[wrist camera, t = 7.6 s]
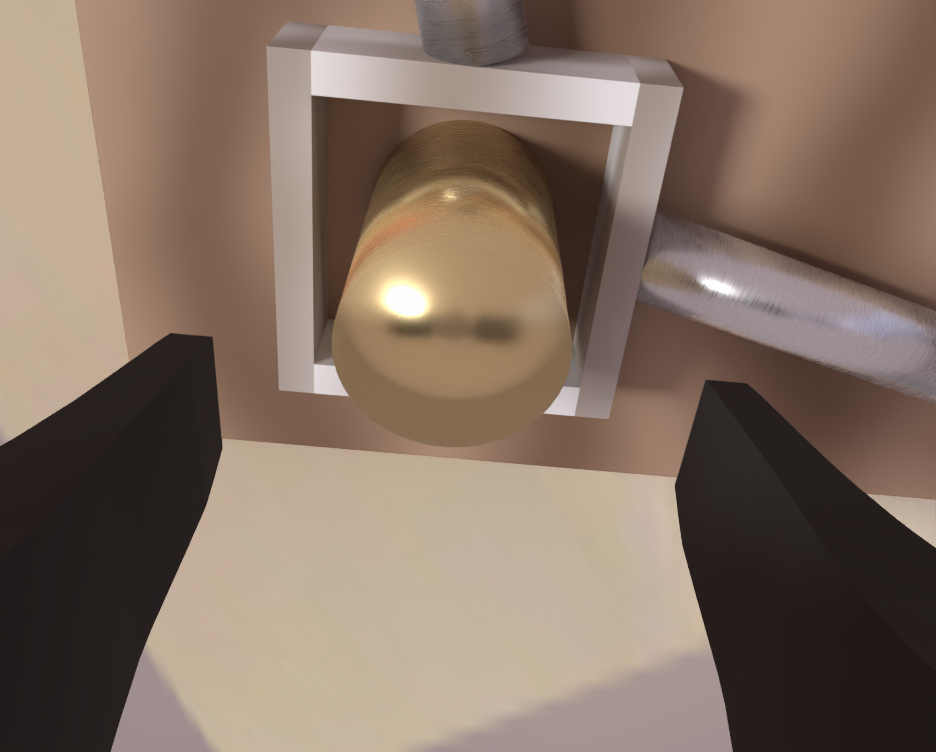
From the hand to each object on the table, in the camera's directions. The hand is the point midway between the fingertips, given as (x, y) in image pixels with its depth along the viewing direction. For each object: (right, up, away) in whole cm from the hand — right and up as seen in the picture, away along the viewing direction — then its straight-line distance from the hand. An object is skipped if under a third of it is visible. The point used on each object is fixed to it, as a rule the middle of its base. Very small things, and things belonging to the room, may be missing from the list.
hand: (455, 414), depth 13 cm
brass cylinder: (0, +4, +7) cm, 8 cm away
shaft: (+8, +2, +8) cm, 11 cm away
